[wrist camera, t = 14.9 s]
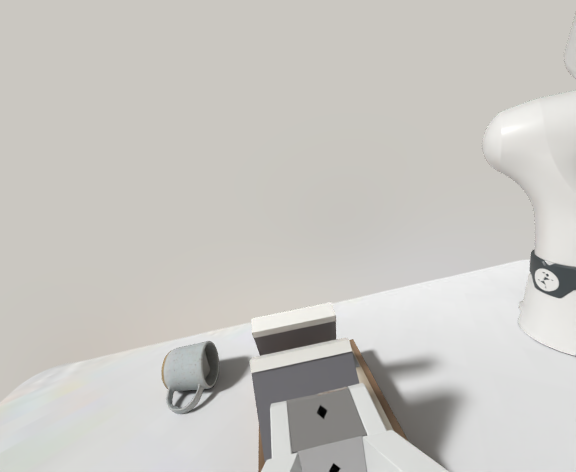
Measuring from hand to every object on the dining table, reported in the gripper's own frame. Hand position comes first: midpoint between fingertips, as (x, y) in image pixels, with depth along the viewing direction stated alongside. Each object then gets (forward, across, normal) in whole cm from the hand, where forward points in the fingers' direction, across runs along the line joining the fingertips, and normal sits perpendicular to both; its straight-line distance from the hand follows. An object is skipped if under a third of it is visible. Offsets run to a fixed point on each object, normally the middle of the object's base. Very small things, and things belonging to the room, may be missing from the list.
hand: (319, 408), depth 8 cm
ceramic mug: (+35, +20, +28) cm, 49 cm away
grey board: (+13, 0, +23) cm, 26 cm away
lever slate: (+29, 0, +23) cm, 37 cm away
